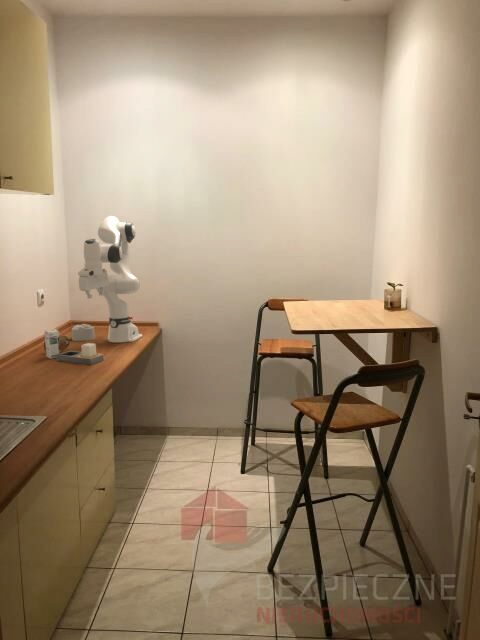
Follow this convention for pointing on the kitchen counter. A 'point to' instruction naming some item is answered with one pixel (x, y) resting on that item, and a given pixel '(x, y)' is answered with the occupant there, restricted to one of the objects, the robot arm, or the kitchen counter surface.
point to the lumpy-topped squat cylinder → (82, 332)
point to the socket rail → (79, 358)
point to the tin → (61, 343)
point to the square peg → (88, 350)
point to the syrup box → (52, 343)
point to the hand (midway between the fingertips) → (95, 296)
